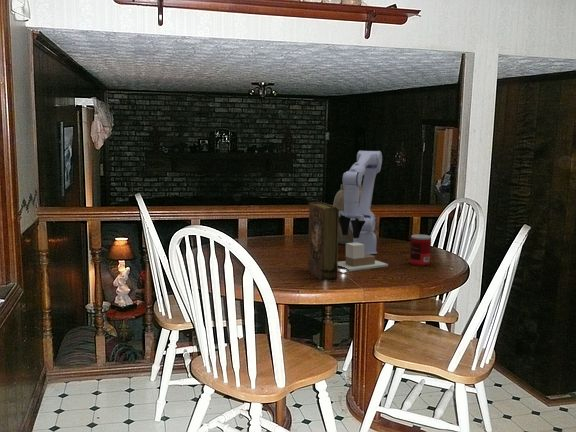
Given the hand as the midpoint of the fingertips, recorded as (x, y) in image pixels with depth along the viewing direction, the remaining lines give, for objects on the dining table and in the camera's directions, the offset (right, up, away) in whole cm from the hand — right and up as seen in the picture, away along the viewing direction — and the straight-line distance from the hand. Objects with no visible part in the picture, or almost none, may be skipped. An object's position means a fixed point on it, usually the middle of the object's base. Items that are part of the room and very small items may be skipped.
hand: (350, 236), depth 217 cm
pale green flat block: (+3, -11, -6) cm, 13 cm away
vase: (+4, -4, +41) cm, 41 cm away
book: (-13, -13, -21) cm, 28 cm away
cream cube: (+1, -7, -9) cm, 12 cm away
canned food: (+27, -11, -2) cm, 29 cm away
